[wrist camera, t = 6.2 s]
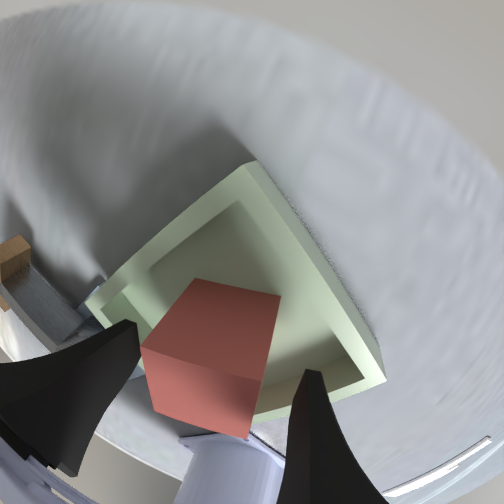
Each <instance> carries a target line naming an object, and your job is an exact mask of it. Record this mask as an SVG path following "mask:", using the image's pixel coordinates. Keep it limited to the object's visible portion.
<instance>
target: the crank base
mask: <svg viewBox="0 0 504 504" xmlns="http://www.w3.org/2000/svg"><path fill="white" fill-rule="evenodd" d="M104 283H105V281H103V282H102V283H101V284H99V285H98V286H97V287H96V288H95V289H94V290H93V291H92V292H91V293H90V295H89V296H88V297H87V298H86V299H85V300H84V301H83V302H82V303H81V304H80V305H79V306H78V307H77V308H76V309H75V311H76V312H77V313H78V314H79V315H80V316H82V317H83V318H84V319H85V320H86V319H87V318H88V317H90V316H94V314H93V313H92V312H91V311H90V309H89V308H88V307H87V305H86V304H85V302H86V301H87V300H88V299H89V298H90V297H91V296H92V295H93V294H94V293H95V292H96V291H97V290H98V289H99V288H100V287H101V286H102V285H103V284H104ZM143 375H145V371H144V370H143V369H142V368H141V367H140V366H139V365H138V364H137V366H136V368H135V369H134V371H133V373H132V375H131V376H130V377H129V379H128V380H127V381H129V380H131V379H134V378H137V377H140V376H143Z"/></svg>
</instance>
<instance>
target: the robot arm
mask: <svg viewBox="0 0 504 504" xmlns="http://www.w3.org/2000/svg"><path fill="white" fill-rule="evenodd" d="M141 356H142V355H141V350H140V342H139V335H138V328H137V323H136V322H133V321H130V320H128V319H124V320H122V321H120V322H118V323H116V324H114V325H112V326H110V327H108V328H106V329H104V330H102V331H101V332H99V333H97V334H95V335H93V336H91V337H89V338H87V339H85V340H83V341H80V342H78V343H76V344H74V345H72V346H69V347H67V348H65V349H62V350H60V351H57V352H54V353H51V354H48V355H45V356H41V357H37V358H33V359H29V360H24V361H18V362H11V363H0V499H1V501H2V502H3V503H4V504H69V503H67V502H66V501H64V500H63V499H61V498H60V497H58V496H57V495H55V494H54V493H52V491H51V487H52V488H53V489H55V490H56V491H58V492H59V493H60V494H62V495H63V496H64V497H66V498H67V499H69V500H70V501H72V502H73V503H75V504H98V503H97V502H95V501H93V500H91V499H90V498H88V497H87V496H85V495H84V494H82V493H80V492H79V491H77V490H76V489H74V488H73V487H71V486H70V485H69V484H67V483H66V482H64V481H63V480H61V479H60V478H59V477H57V476H56V475H55V474H53V473H52V472H51V471H50V470H48V469H47V467H48V465H49V466H50V467H52V468H53V469H56V468H58V469H60V470H61V471H62V472H64V473H65V474H67V475H68V476H69V477H76V476H77V475H78V472H79V469H80V465H81V462H82V460H83V457H84V454H85V452H86V449H87V447H88V444H89V442H90V440H91V438H92V436H93V433H94V431H95V429H96V427H97V425H98V423H99V422H100V420H101V418H102V416H103V414H104V413H105V411H106V409H107V408H108V406H109V405H110V404H111V402H112V401H113V399H114V398H115V397H116V395H117V394H118V393H119V391H120V390H121V389H122V387H123V386H124V384H125V383H126V382H127V380H128V379H129V377H130V376H131V375H132V373H133V371H134V369H135V368H136V366H137V364H138V362H139V360H140V358H141ZM178 442H179V443H180V444H181V445H183V446H184V447H185V448H187V449H188V450H190V451H191V452H193V453H194V455H193V458H192V460H191V463H190V465H189V467H188V470H187V472H186V475H185V477H184V479H183V482H182V484H181V486H180V489H179V491H178V494H177V496H176V498H175V500H174V503H173V504H389V503H388V502H387V501H386V500H385V499H384V498H383V496H382V495H381V494H380V493H379V492H378V490H377V489H376V488H375V487H374V485H373V484H372V483H371V481H370V480H369V478H368V477H367V476H366V474H365V473H364V471H363V470H362V468H361V467H360V465H359V464H358V462H357V460H356V459H355V457H354V455H353V453H352V451H351V450H350V448H349V446H348V444H347V442H346V440H345V438H344V435H343V433H342V431H341V429H340V426H339V424H338V422H337V419H336V416H335V414H334V411H333V408H332V406H331V403H330V400H329V396H328V393H327V390H326V386H325V383H324V379H323V375H322V373H321V371H316V370H310V369H305V371H304V374H303V376H302V379H301V381H300V383H299V386H298V388H297V391H296V393H295V395H294V398H293V401H292V407H291V412H290V417H289V425H288V437H287V448H286V459H285V458H283V457H282V456H280V455H279V454H277V453H276V452H274V451H273V450H271V449H270V448H269V447H267V446H266V445H264V444H263V443H262V442H260V441H259V440H258V439H256V438H255V437H254V436H252V435H251V434H250V433H249V435H248V438H247V439H243V438H238V437H234V436H230V435H226V434H222V433H218V434H211V435H203V436H194V437H183V438H179V440H178ZM50 486H51V487H50Z"/></svg>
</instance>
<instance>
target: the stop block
mask: <svg viewBox="0 0 504 504" xmlns="http://www.w3.org/2000/svg"><path fill="white" fill-rule="evenodd" d="M280 300H281V296H279V295H274V294H269V293H264V292H259V291H254V290H249V289H244V288H240V287H235V286H230V285H226V284H221V283H216V282H212V281H207V280H203V279H199V278H194V280H193V281H192V282H191V283H190V284H189V286H188V287H187V288H186V289H185V290H184V292H183V293H182V294H181V295H180V297H179V298H178V299H177V300H176V301H175V303H174V304H173V305H172V306H171V308H170V309H169V310H168V311H167V313H166V314H165V315H164V316H163V318H162V319H161V320H160V321H159V323H158V324H157V325H156V326H155V328H154V329H153V330H152V331H151V333H150V334H149V335H148V336H147V338H146V339H145V340H144V341H143V343H142V344H141V345H140V350H141V355H142V360H143V365H144V370H145V375H146V379H147V383H148V388H149V392H150V396H151V400H152V404H153V407H154V411H155V412H158V413H160V414H163V415H166V416H168V417H171V418H174V419H177V420H180V421H182V422H185V423H189V424H192V425H195V426H198V427H201V428H205V429H208V430H211V431H215V432H219V433H222V434H226V435H230V436H234V437H238V438H243V439H247V438H248V435H249V431H250V427H251V423H252V420H253V416H254V412H255V408H256V404H257V401H258V397H259V393H260V389H261V385H262V381H263V377H264V372H265V368H266V364H267V360H268V356H269V351H270V347H271V342H272V338H273V333H274V328H275V324H276V319H277V314H278V309H279V304H280Z"/></svg>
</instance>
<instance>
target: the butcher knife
mask: <svg viewBox="0 0 504 504" xmlns="http://www.w3.org/2000/svg"><path fill="white" fill-rule="evenodd" d="M490 442H492V441H491V438H489V437H485V438H484V439H482V440H481V441H480V442H478V443H477V444H475V445H474V446H472V447H471V448H469V449H468V450H466V451H465V452H463V453H461V454H460V455H458V456H456V457H455V458H453V459H451V460H450V461H448V462H446V463H444V464H443V465H441V466H439V467H437V468H435V469H433V470H432V471H430V472H428V473H426V474H424V475H422V476H420V477H417V478H415V479H413V480H411V481H409V482H407V483H404V484H402V485H400V486H397V487H395V488H392V489H390V490H387V491H385V492H383V495H385V496H388V497H390V496H394V497H395V496H396V497H398V495H401V494H402V495H403V494H405V493H406V492H407V493H408V492H409V491H411V490H413V489H414V490H415V489H417V488H418V487H420V486H422V485H424V484H427V483H429V482H432V481H434V480H435V479H437V478H439V477H441V476H443V475H445V474H447V473H449V472H450V471H452V470H454V469H456V468H457V467H458V466H460V465H461V464H459V465H458V463H459V462H460V461H462V460H463V459H465V458H467V457H468V456H470V455H472V454H473V453H475V452H476V451H478V450H480V449H481V448H483V447H484V446H486V445H487V444H489V443H490Z"/></svg>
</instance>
